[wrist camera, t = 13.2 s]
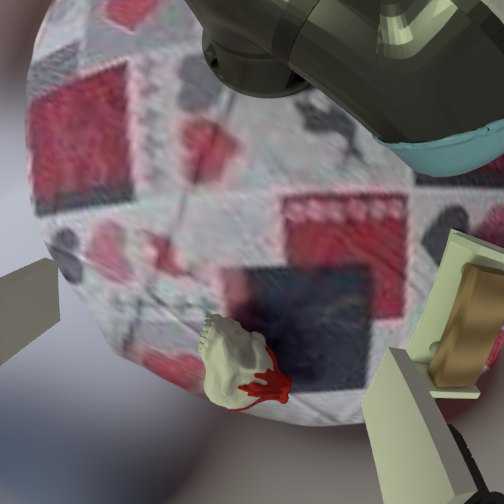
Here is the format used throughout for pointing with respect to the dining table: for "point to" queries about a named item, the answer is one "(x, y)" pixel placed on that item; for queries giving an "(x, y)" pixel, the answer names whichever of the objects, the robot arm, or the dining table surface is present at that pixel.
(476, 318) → the brown long block
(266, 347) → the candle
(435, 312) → the shelf frame
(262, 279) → the dining table surface
